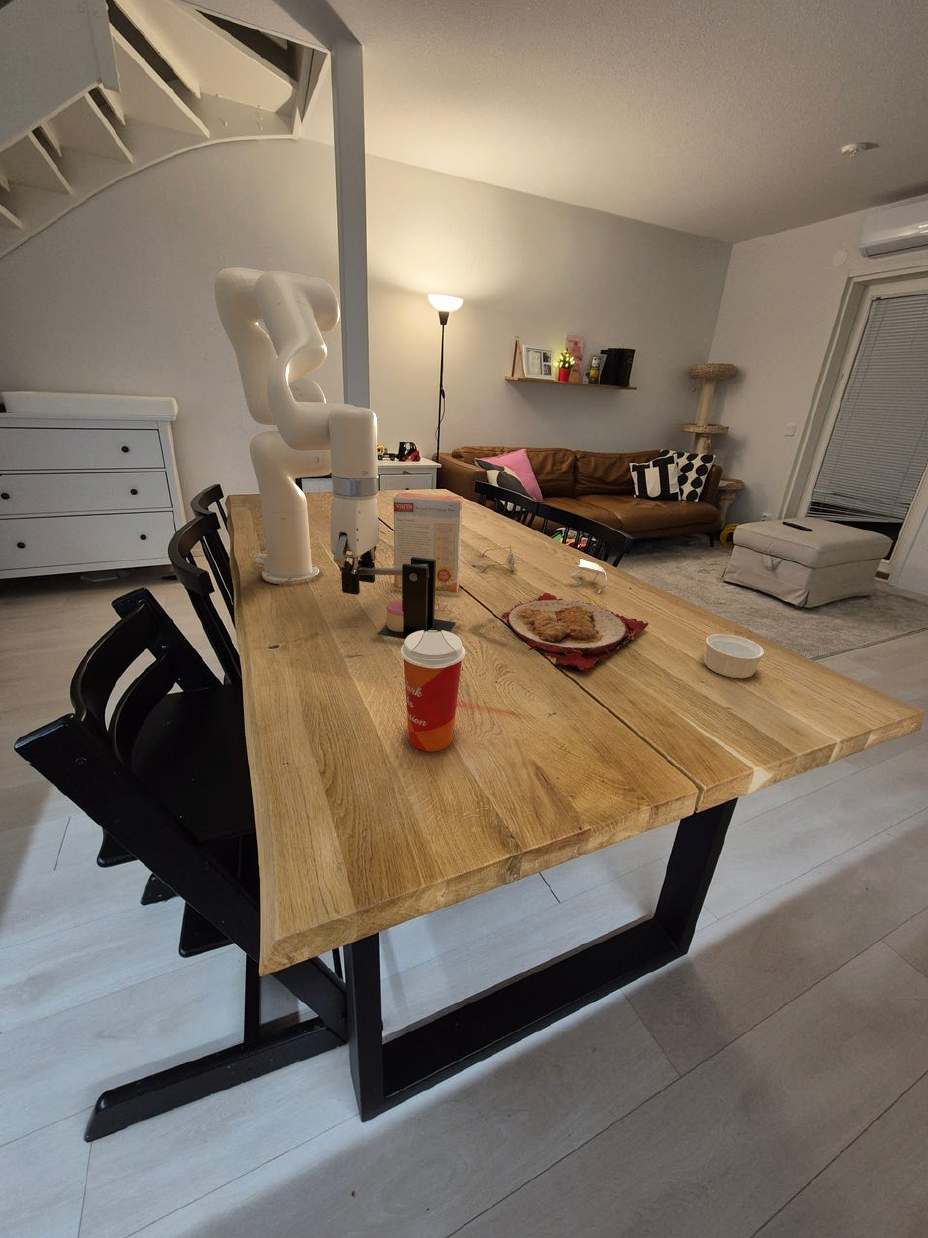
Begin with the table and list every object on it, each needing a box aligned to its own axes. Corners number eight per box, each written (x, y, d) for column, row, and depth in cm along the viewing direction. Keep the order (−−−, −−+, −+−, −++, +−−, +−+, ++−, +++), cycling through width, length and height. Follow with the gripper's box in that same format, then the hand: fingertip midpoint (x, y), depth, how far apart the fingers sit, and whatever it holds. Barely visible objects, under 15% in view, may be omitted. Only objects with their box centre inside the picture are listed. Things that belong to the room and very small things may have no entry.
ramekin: (734, 685, 81) (741, 662, 79) (689, 660, 88) (694, 638, 86) (768, 674, 85) (776, 651, 83) (722, 651, 92) (728, 630, 90)
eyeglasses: (514, 574, 125) (514, 559, 124) (482, 575, 126) (482, 559, 124) (510, 557, 138) (510, 543, 136) (481, 558, 138) (481, 544, 137)
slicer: (376, 640, 89) (375, 566, 83) (398, 618, 98) (398, 550, 92) (441, 651, 86) (443, 575, 81) (457, 628, 95) (460, 558, 90)
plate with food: (647, 632, 98) (651, 615, 97) (583, 676, 80) (587, 657, 79) (545, 599, 112) (547, 584, 111) (471, 630, 94) (472, 613, 93)
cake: (381, 629, 91) (381, 608, 89) (393, 617, 95) (393, 597, 94) (410, 634, 89) (411, 613, 88) (421, 621, 94) (421, 602, 93)
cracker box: (459, 587, 115) (464, 495, 107) (456, 596, 110) (461, 500, 101) (399, 582, 116) (399, 490, 108) (393, 591, 111) (392, 495, 102)
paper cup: (401, 720, 68) (401, 627, 62) (458, 719, 69) (463, 627, 63) (399, 758, 61) (399, 657, 55) (462, 757, 62) (468, 658, 56)
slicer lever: (347, 582, 89) (345, 569, 88) (361, 572, 94) (359, 560, 93) (422, 583, 85) (420, 570, 84) (432, 574, 90) (431, 561, 89)
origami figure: (558, 581, 122) (560, 562, 120) (581, 575, 127) (584, 557, 125) (597, 597, 113) (600, 577, 111) (620, 591, 118) (624, 571, 116)
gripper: (358, 477, 93) (361, 570, 100) (307, 492, 77) (316, 601, 85) (396, 481, 91) (396, 575, 98) (352, 498, 76) (356, 607, 83)
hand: (359, 586), depth 92 cm, fingers closed on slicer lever, 5 cm apart
